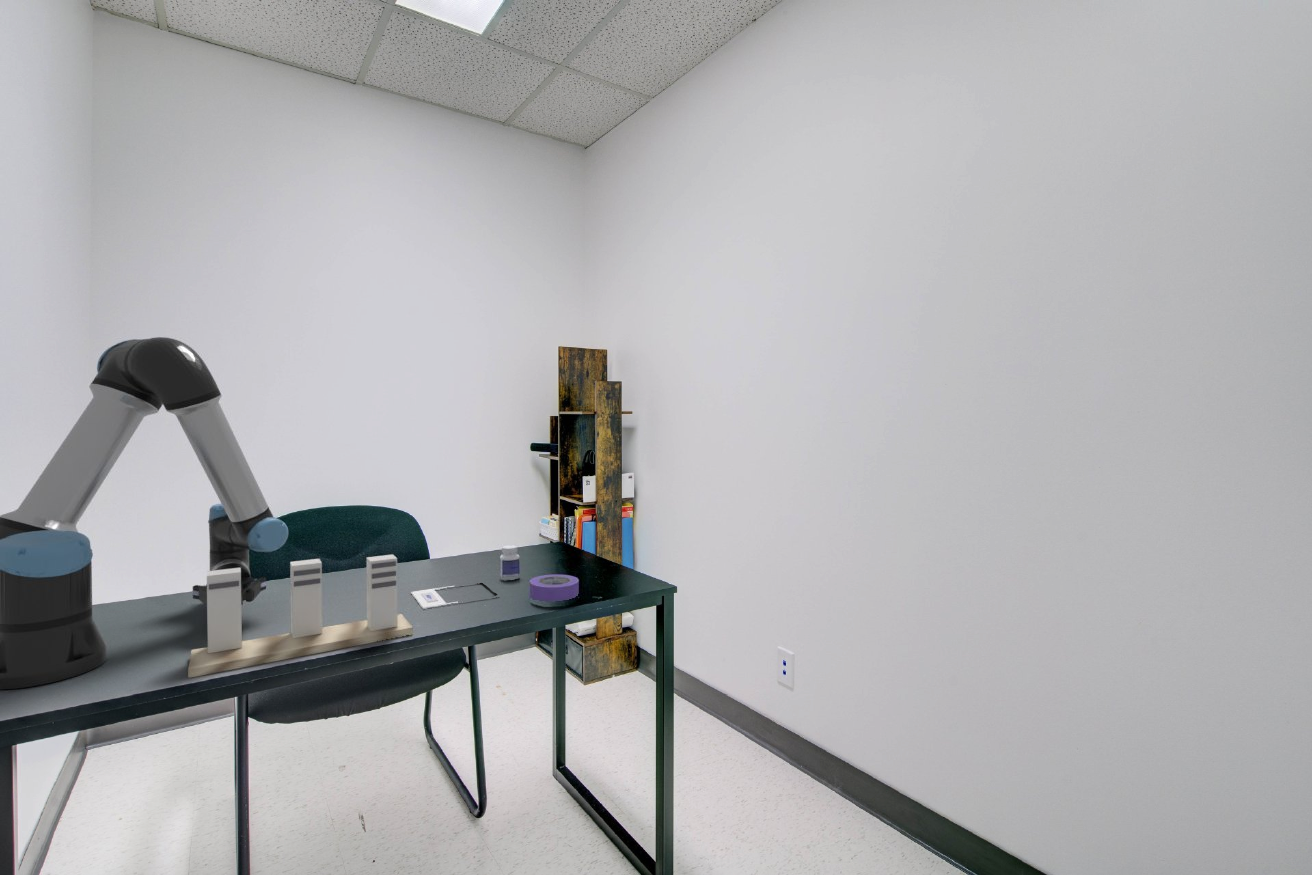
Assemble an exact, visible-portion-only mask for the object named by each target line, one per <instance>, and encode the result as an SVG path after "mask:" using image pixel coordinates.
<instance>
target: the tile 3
mask: <svg viewBox="0 0 1312 875" xmlns="http://www.w3.org/2000/svg"><path fill="white" fill-rule="evenodd" d="M397 615H398V558H397V557H396V556H395V555H394V554H385V555H377V556H376V555H375V556H368V557H367V556H366V620H367V626H368V628H369V630H370V631H376V630H381V629H387V628H392V627H398V623H397Z"/></svg>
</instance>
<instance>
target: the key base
mask: <svg viewBox="0 0 1312 875" xmlns="http://www.w3.org/2000/svg"><path fill="white" fill-rule="evenodd" d="M397 623H398V627H392V628H387V629H381V630H376V631H370V630H369V628H368V626H367V619H364V620H359V621H353V622H346V623H340V624H335V625H329V626H324V627H323V626H322V634H316V635H310V636H305V637H299V638H292V634H291V632H288V633H284V634H283V633H282V634H277V635H271V636H264V637H259V638H254V639H248V640H242V648H237V649H231V650H225V651H220V652H214V653H208V646H206V647H201V648H194V649H191V651H190V657H189V664H188V668H187V670H188V672H187V674H188V675H187V676H188V677H187V678H188V679H189V678H195V677H200V676H205V675H210V674H215V673H220V672H221V673H222V672H227V671H231V670H236V669H237V670H238V669H241V668H246V667H252V666H257V665H264V664H267V663H273V662H279V661H284V660H289V659H293V658H299V657H305V656H309V655H310V656H311V655H314V654H320V653H325V652H329V651H336V650H340V649H346V648H351V647H357V646H363V645H366V644H372V643H377V641H378V642H382V640H383V641H387V640H386V639H388V640H392V639H391V638H393V639H396V638H395V637H398V638H402V636H404V637H407V636H406V635H409V636H413V634H414V627H413V626H412V624H410V622H409V621H408V620H407V619H406V618H405V616H404V615H403V614H402V613H400V614H399V613H397Z"/></svg>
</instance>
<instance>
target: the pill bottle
mask: <svg viewBox="0 0 1312 875" xmlns="http://www.w3.org/2000/svg"><path fill="white" fill-rule="evenodd" d="M501 552H502V553H501V555H499V577H500V576H501V577H516V576H518V575H519V574H521V573H520V571H521V570H520V567H521V566H520V565H521V564H520V555H519V553H517V552H518V546H516V545H513V544H512V545H504V546H502V548H501Z"/></svg>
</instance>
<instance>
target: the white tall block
mask: <svg viewBox="0 0 1312 875" xmlns="http://www.w3.org/2000/svg"><path fill="white" fill-rule="evenodd" d="M289 564H290V565H289V568H290V569H289V571H290V575H289V577H290V580H289V581H290V633H291V634H292V638H299V637H305V636H310V635H316V634H322V627H323V573H322V572H323V569H322V568H323V563H322V561H321V558H314V559H313V558H311V559H304V560H295V561H290V562H289Z"/></svg>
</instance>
